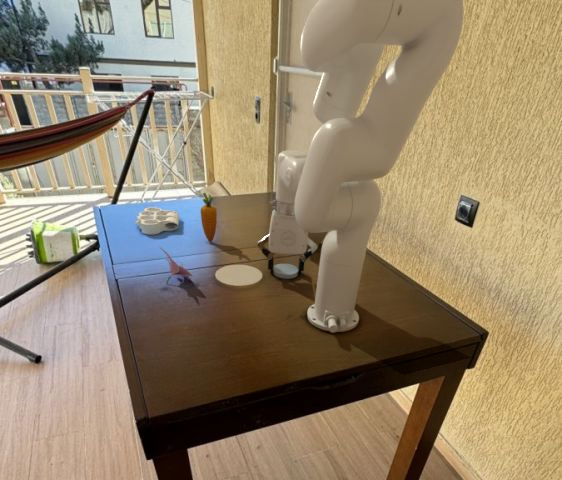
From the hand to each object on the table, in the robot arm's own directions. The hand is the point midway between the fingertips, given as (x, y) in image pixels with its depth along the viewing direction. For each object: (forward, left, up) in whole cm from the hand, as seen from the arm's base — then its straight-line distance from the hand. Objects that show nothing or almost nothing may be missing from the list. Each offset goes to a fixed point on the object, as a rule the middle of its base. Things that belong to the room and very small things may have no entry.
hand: (285, 272), depth 110 cm
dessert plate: (-2, +13, -2) cm, 13 cm away
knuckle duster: (+36, +44, -2) cm, 57 cm away
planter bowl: (+25, -7, -2) cm, 26 cm away
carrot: (+23, +24, -2) cm, 33 cm away
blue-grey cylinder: (0, 0, -1) cm, 1 cm away
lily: (-7, +28, -2) cm, 29 cm away
